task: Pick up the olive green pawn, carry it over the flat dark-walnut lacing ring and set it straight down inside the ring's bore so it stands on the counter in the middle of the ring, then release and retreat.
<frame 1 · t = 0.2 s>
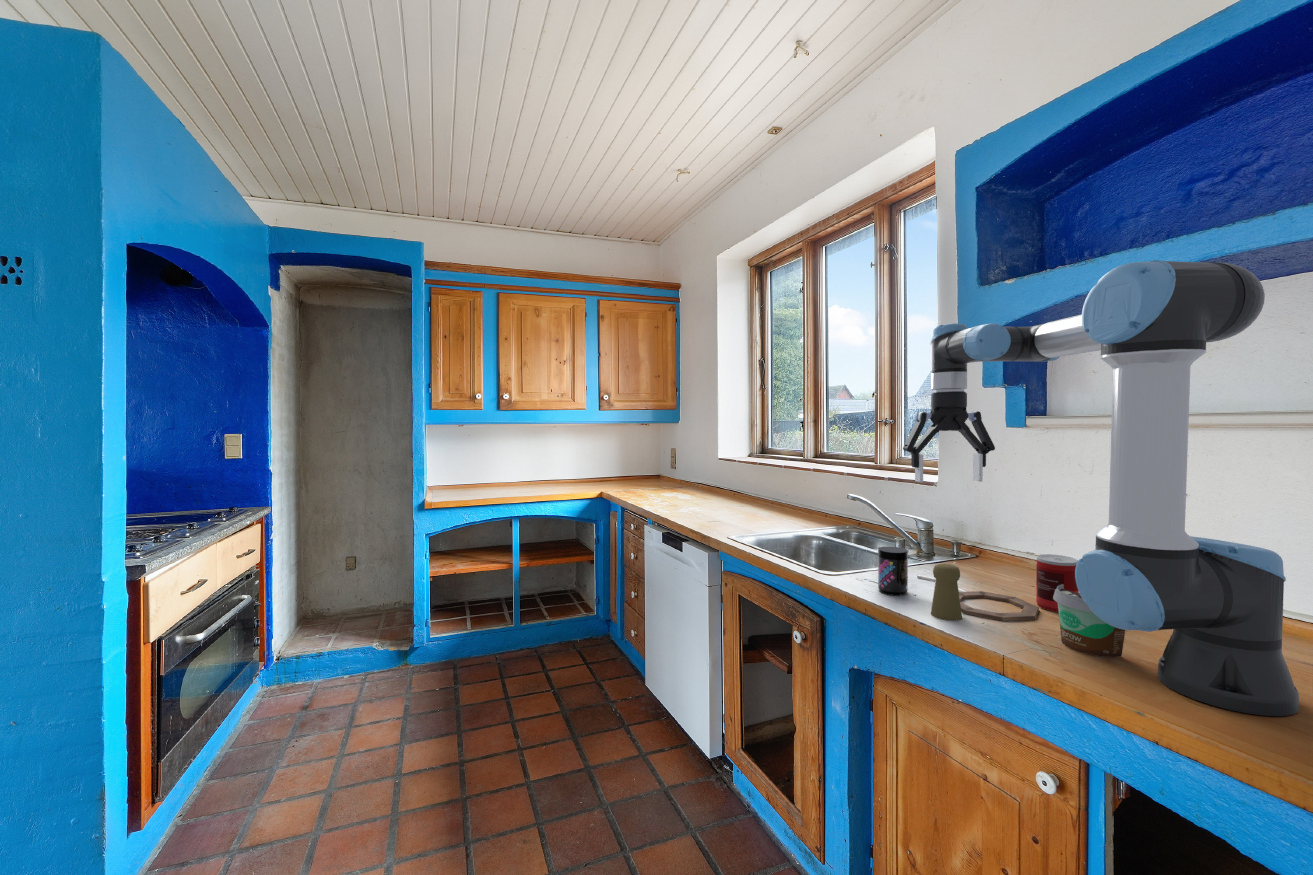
hand: (948, 481, 132), 27 cm above the worktop, fingers open, 13 cm apart
supplement container: (892, 592, 136), on the worktop
olive green pawn: (946, 616, 120), on the worktop
canned food: (1056, 608, 124), on the worktop
lacing ring: (991, 606, 125), on the worktop
food container: (1081, 649, 102), on the worktop
lace cord: (940, 584, 141), on the worktop
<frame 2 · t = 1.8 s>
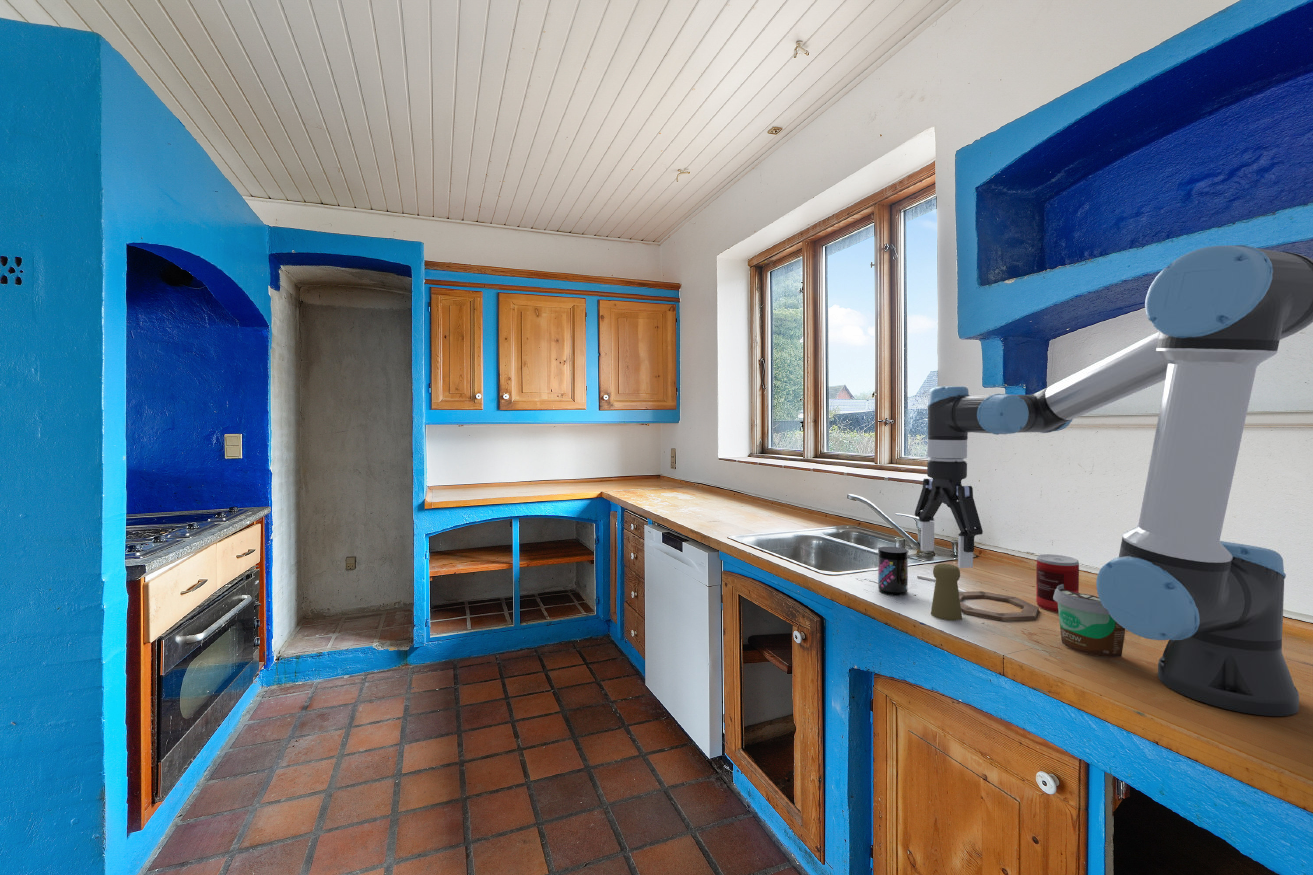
hand: (945, 558, 120), 12 cm above the worktop, fingers open, 13 cm apart
nothing on the worktop moved.
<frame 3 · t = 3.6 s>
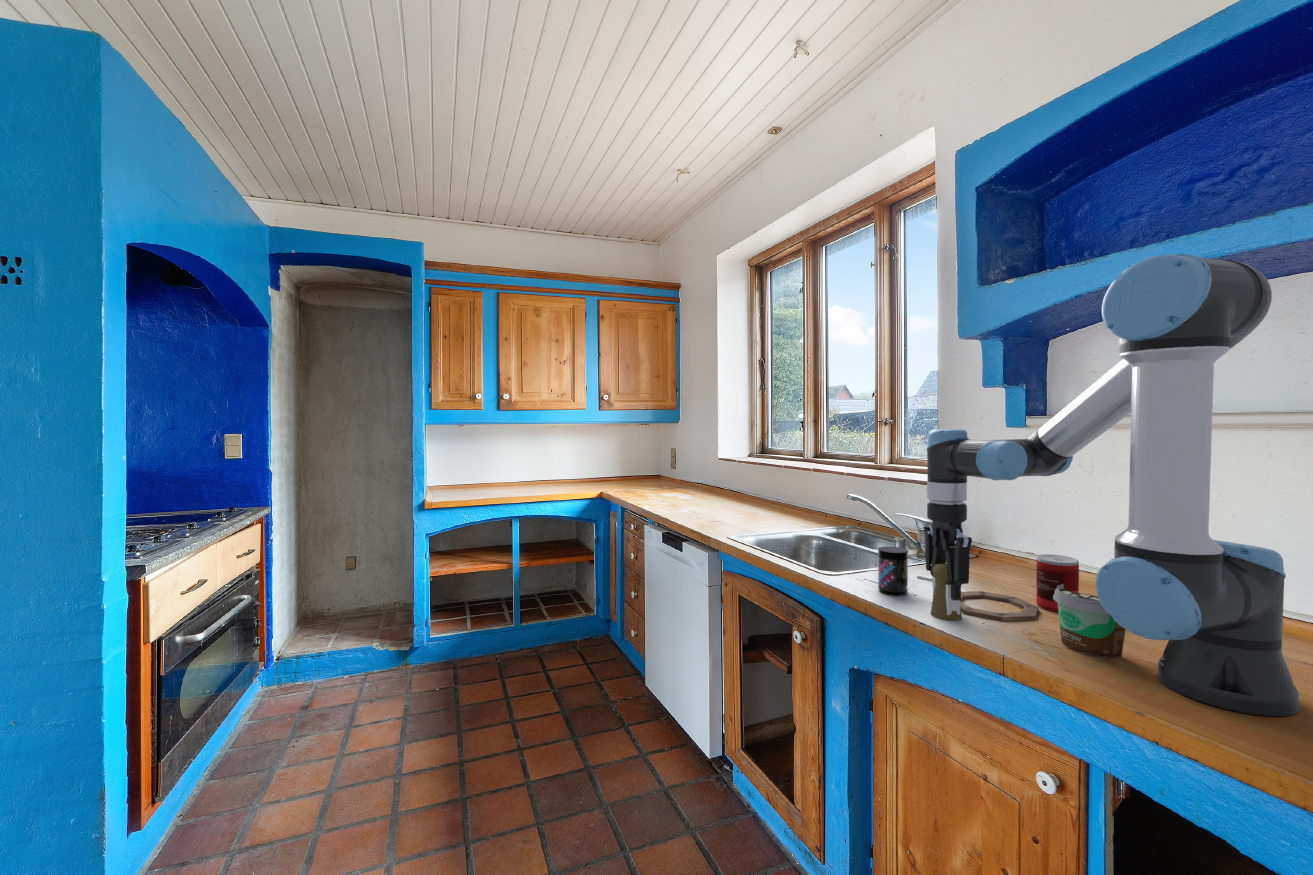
hand: (946, 609, 120), 1 cm above the worktop, fingers closed on olive green pawn, 4 cm apart
olive green pawn: (946, 616, 120), on the worktop, touching gripper
everything else where it was.
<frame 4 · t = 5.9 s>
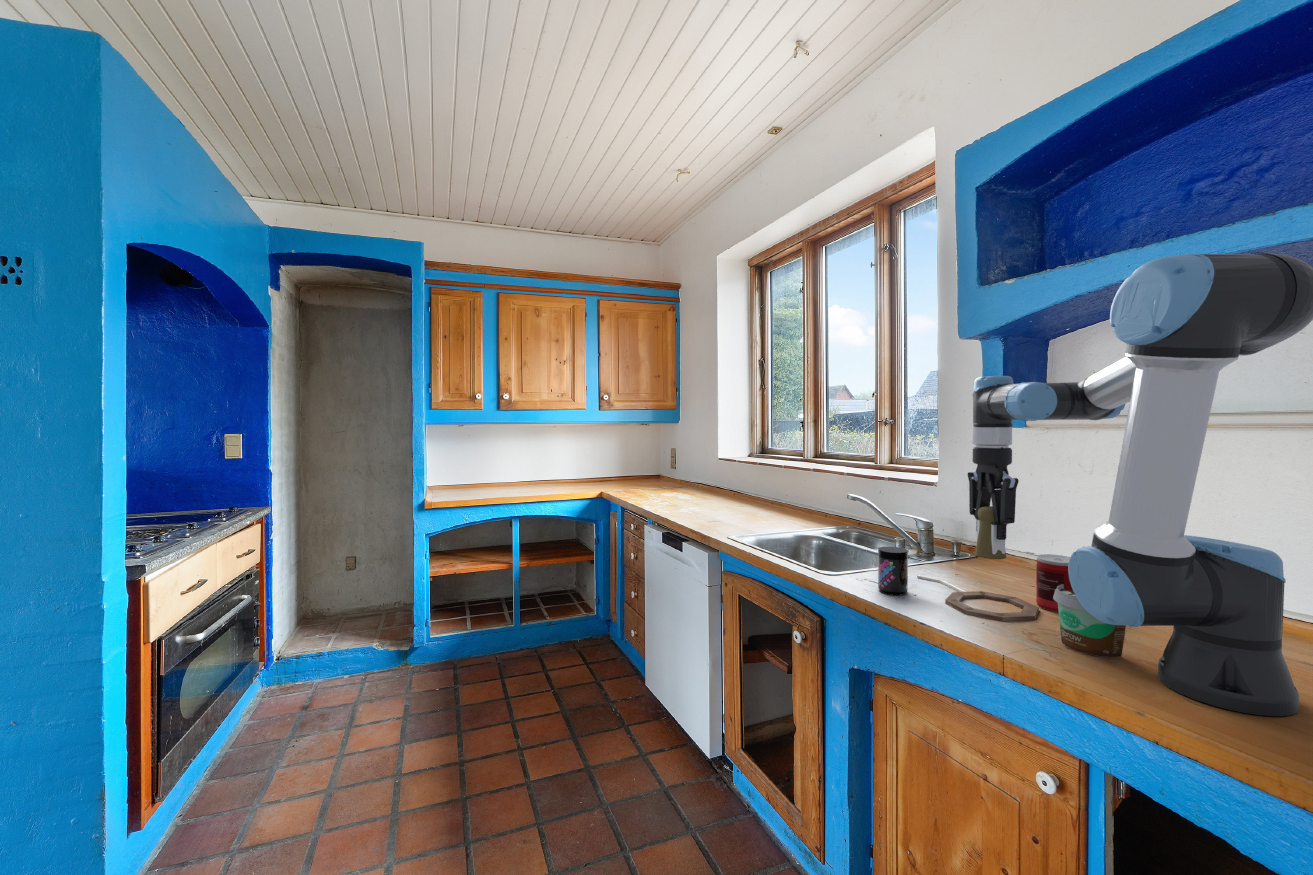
hand: (990, 550, 125), 13 cm above the worktop, fingers closed on olive green pawn, 4 cm apart
olive green pawn: (990, 556, 125), point 11 cm above the worktop, touching gripper
everything else where it was.
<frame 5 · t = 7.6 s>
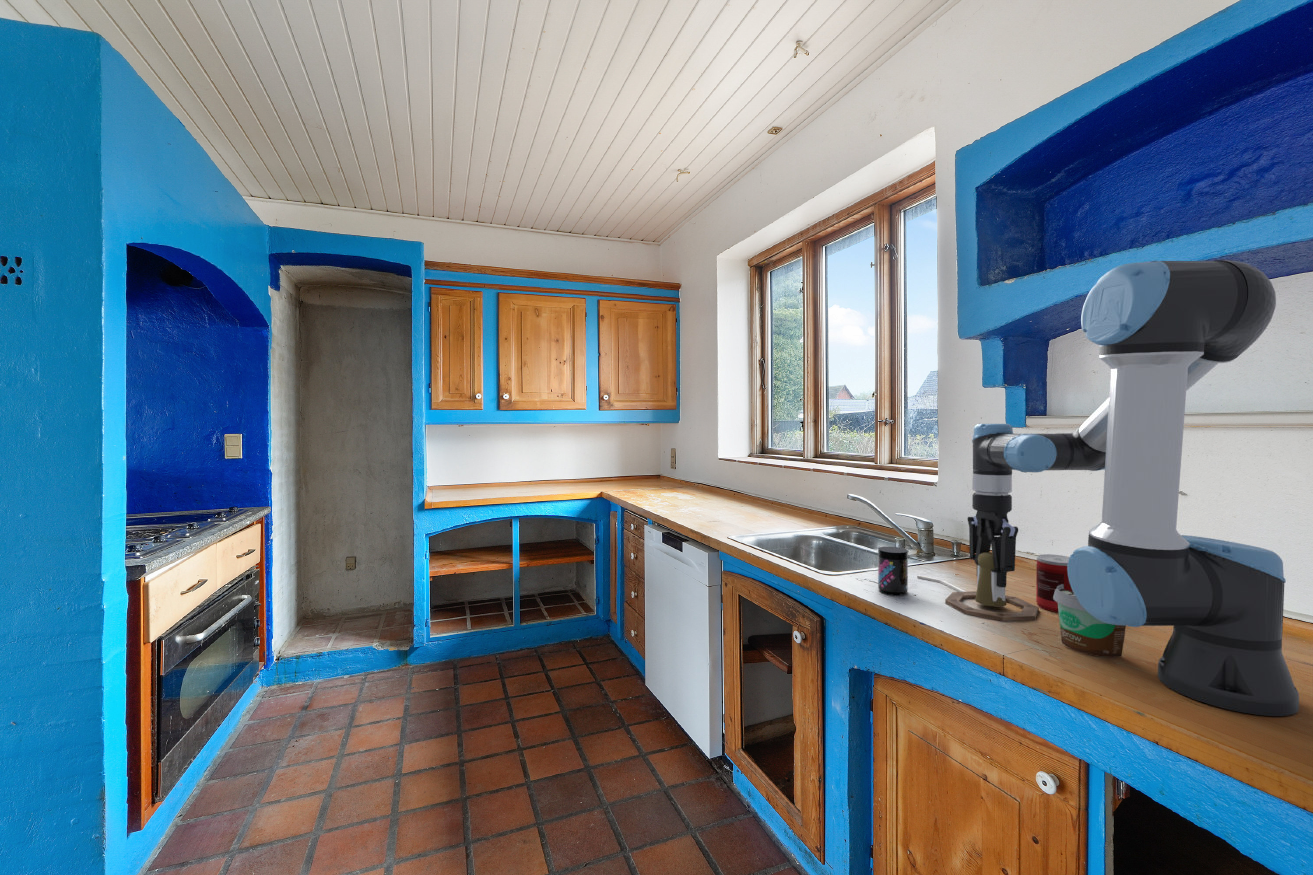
hand: (990, 596, 125), 2 cm above the worktop, fingers closed on olive green pawn, 4 cm apart
olive green pawn: (990, 602, 125), point 1 cm above the worktop, touching gripper
everything else where it was.
when the fingers open (1 cm above the worktop, at t = 8.5 s): olive green pawn stays where it is, resting in lacing ring.
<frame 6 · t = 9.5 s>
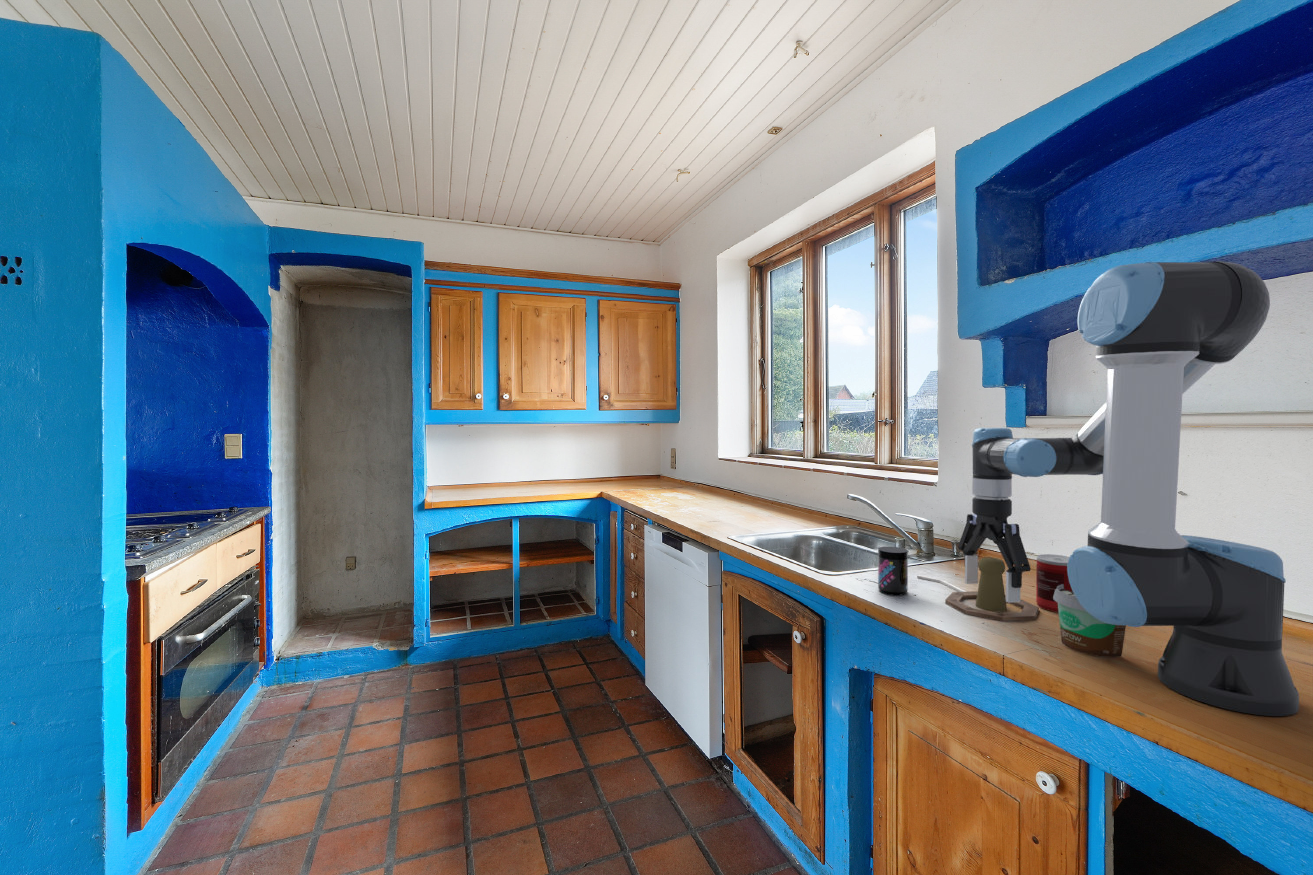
hand: (991, 592, 125), 3 cm above the worktop, fingers open, 13 cm apart
olive green pawn: (991, 607, 125), resting in lacing ring
everything else where it was.
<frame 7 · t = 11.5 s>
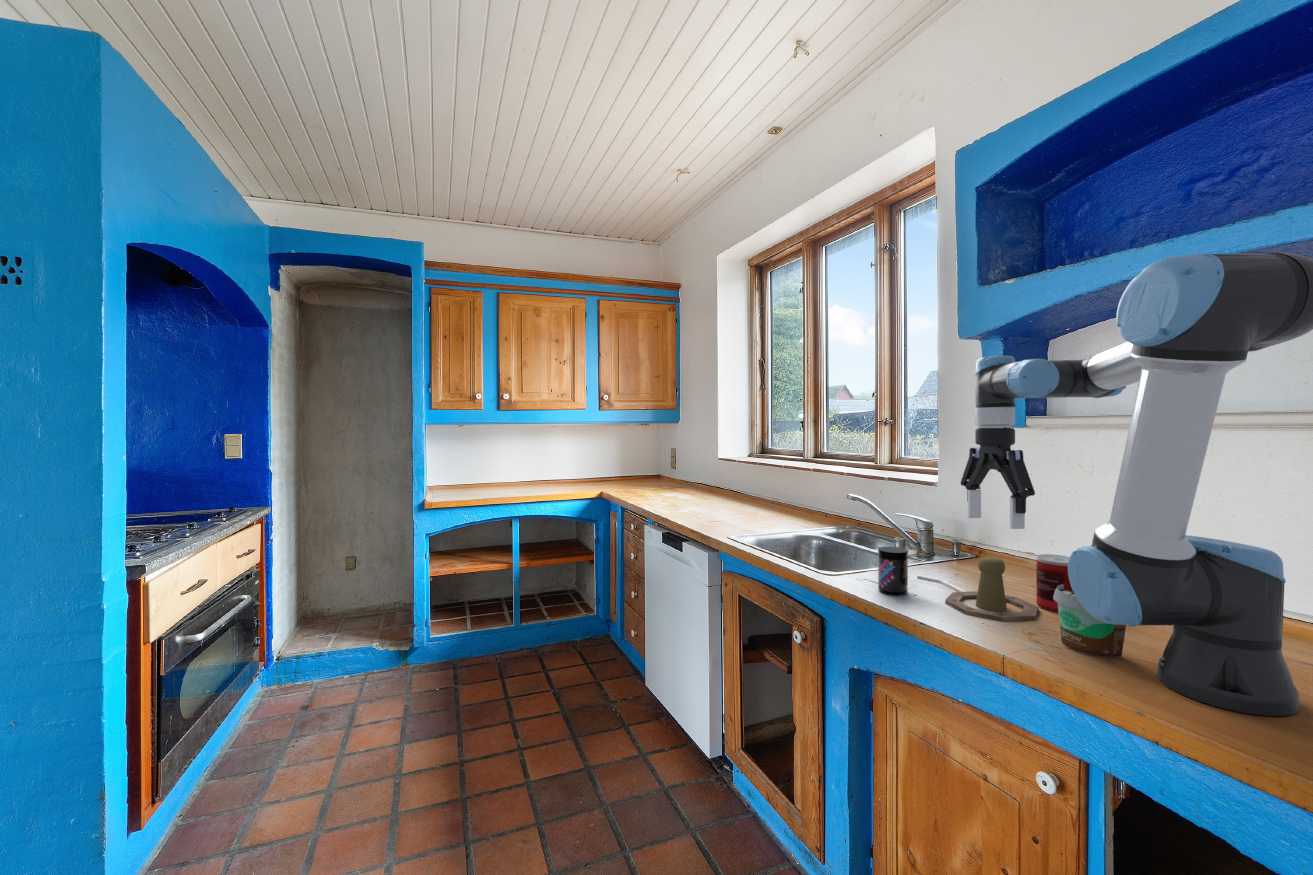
hand: (994, 523, 124), 19 cm above the worktop, fingers open, 13 cm apart
nothing on the worktop moved.
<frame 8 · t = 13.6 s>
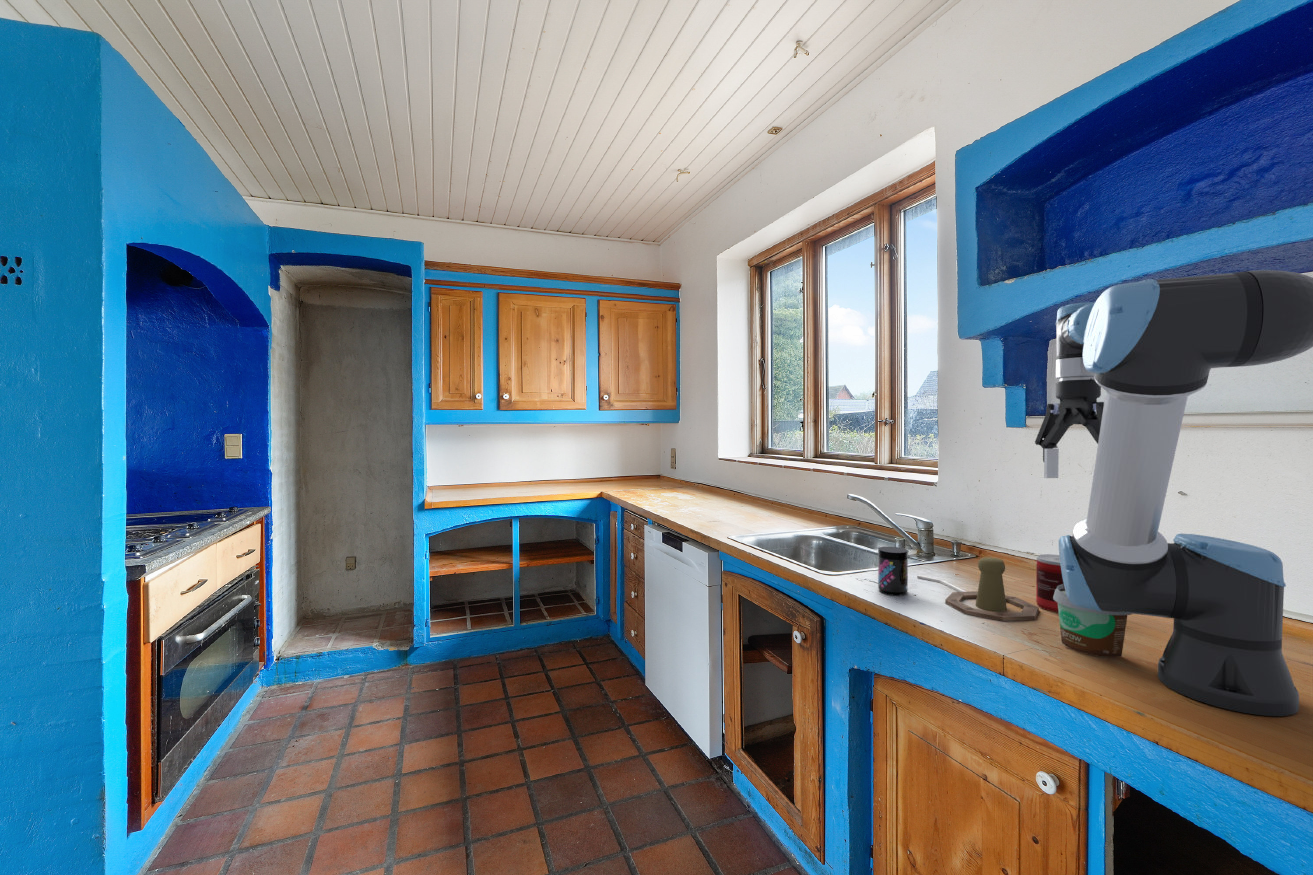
hand: (1076, 481, 117), 29 cm above the worktop, fingers open, 13 cm apart
nothing on the worktop moved.
at the end: olive green pawn inside the target area on the lacing ring (0.1 cm from its centre), point 0.0 cm above the lacing ring's base; olive green pawn tilted 0°; the gripper is holding nothing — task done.
